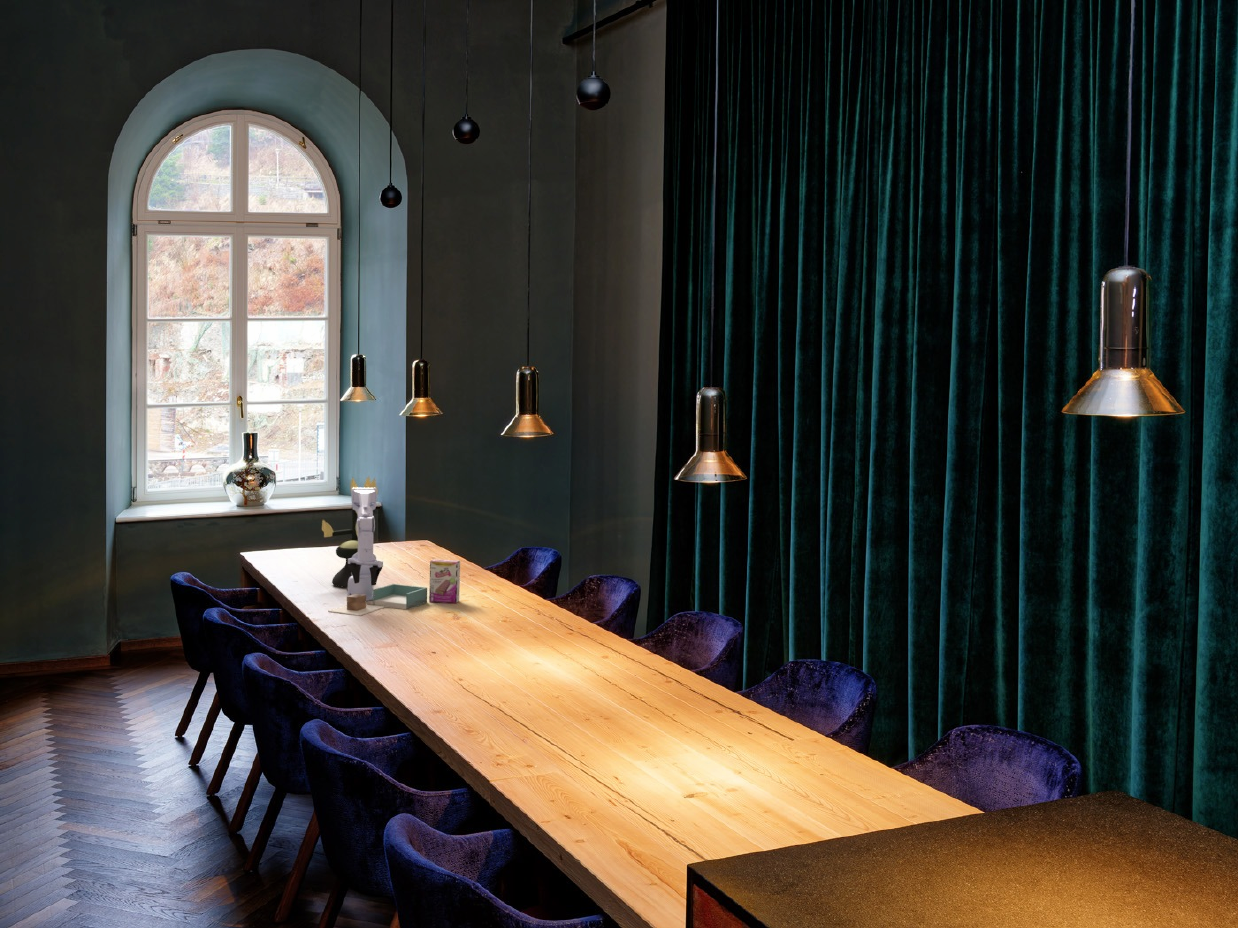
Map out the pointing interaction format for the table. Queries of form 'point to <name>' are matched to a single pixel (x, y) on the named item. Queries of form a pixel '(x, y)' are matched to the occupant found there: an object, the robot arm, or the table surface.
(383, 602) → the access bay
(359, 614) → the mat
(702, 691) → the table surface
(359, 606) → the walnut block
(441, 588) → the candy bar box
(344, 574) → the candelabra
